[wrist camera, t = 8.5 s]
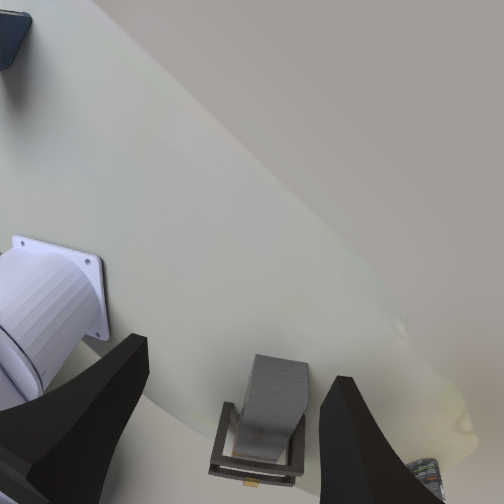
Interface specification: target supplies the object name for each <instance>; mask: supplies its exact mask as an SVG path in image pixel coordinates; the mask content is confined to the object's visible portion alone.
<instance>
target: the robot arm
mask: <svg viewBox="0 0 504 504" xmlns="http://www.w3.org/2000/svg"><path fill="white" fill-rule="evenodd" d="M12 243H13V248H11V249H10V250H8V251H7V252H5V253H4V254H3V255H1V256H0V504H99V499H100V495H101V492H102V488H103V484H104V481H105V478H106V474H107V471H108V468H109V465H110V462H111V459H112V456H113V453H114V450H115V448H116V445H117V443H118V440H119V438H120V436H121V434H122V432H123V430H124V428H125V426H126V424H127V422H128V420H129V418H130V416H131V414H132V412H133V411H134V408H135V407H136V405H137V403H138V401H139V399H140V397H141V395H142V392H143V390H144V387H145V384H146V381H147V379H148V376H149V373H150V371H149V359H148V344H147V337H144V336H141V335H137V334H134V333H132V334H130V335H129V336H128V337H127V338H125V339H124V340H123V341H122V342H121V343H120V344H118V345H117V346H116V347H115V348H113V349H112V350H111V351H110V352H109V353H107V354H106V355H105V356H104V357H102V358H101V359H100V360H98V361H97V362H96V363H95V364H93V365H92V366H90V367H89V368H88V369H86V370H85V371H83V372H82V373H80V374H79V375H77V376H76V377H75V378H73V379H71V380H70V381H68V382H67V383H65V384H63V385H62V386H60V387H58V388H56V389H54V390H52V391H51V392H48V393H46V394H44V395H43V392H44V390H45V389H46V387H47V386H48V385H49V383H50V382H51V380H52V379H53V377H54V376H55V375H56V373H57V372H58V370H59V369H60V368H61V366H62V365H63V364H64V362H65V361H66V359H67V358H68V357H69V355H70V354H71V353H72V351H73V350H74V349H75V347H76V346H77V345H78V343H79V342H80V341H81V339H82V338H83V337H84V335H85V334H86V335H89V336H92V337H94V338H97V339H100V340H103V341H107V340H108V339H109V337H110V335H109V328H108V321H107V313H106V305H105V297H104V287H103V277H102V265H101V260H100V258H99V257H98V256H96V255H92V254H88V253H84V252H80V251H76V250H72V249H68V248H65V247H61V246H57V245H53V244H49V243H46V242H42V241H38V240H34V239H31V238H27V237H23V236H20V235H15V236H13V237H12ZM88 260H90V262H91V263H90V262H89V261H88ZM319 443H320V461H321V495H320V504H446V503H444V502H443V501H441V500H440V499H439V498H438V497H436V496H435V495H434V494H433V493H432V492H431V491H429V490H428V489H427V488H426V487H425V486H424V485H423V484H422V483H421V482H420V481H419V480H418V479H417V478H416V477H415V476H414V475H413V474H412V472H411V471H410V470H409V469H408V468H407V467H406V466H405V465H404V463H403V462H402V461H401V459H400V458H399V457H398V456H397V454H396V453H395V452H394V450H393V449H392V447H391V446H390V444H389V443H388V441H387V440H386V438H385V437H384V435H383V433H382V432H381V430H380V428H379V427H378V425H377V423H376V422H375V420H374V418H373V416H372V414H371V413H370V411H369V409H368V407H367V405H366V403H365V401H364V399H363V397H362V395H361V393H360V392H359V390H358V388H357V386H356V384H355V382H354V380H353V378H352V377H345V376H337V377H336V379H335V381H334V382H333V384H332V386H331V388H330V390H329V392H328V394H327V396H326V398H325V400H324V401H323V403H322V405H321V407H320V419H319Z"/></svg>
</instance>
